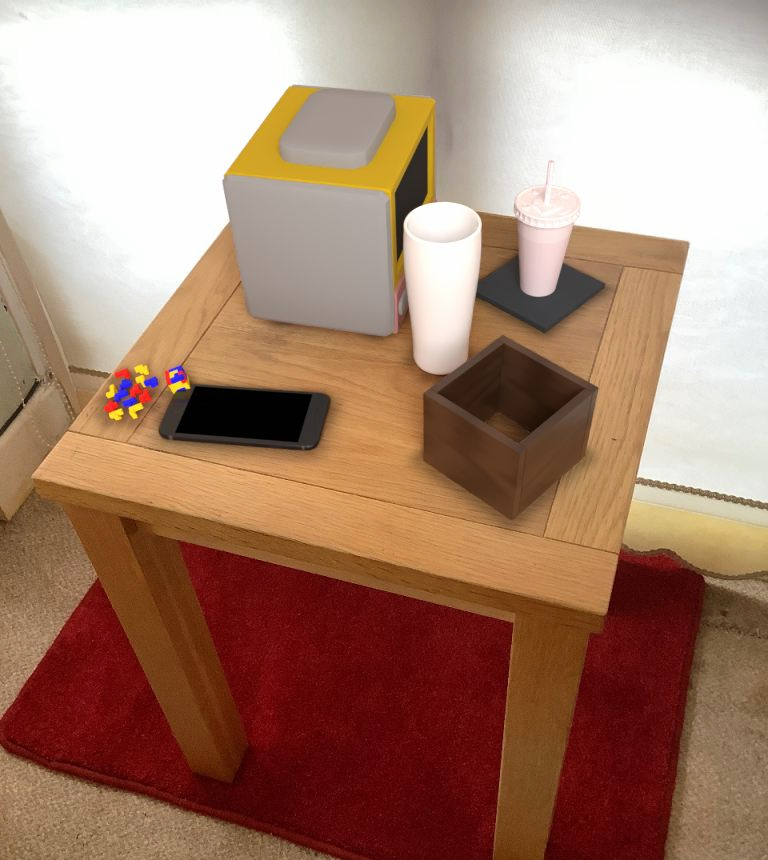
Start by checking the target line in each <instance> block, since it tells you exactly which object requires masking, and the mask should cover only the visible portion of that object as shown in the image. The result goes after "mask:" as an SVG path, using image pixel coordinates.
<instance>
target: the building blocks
mask: <svg viewBox="0 0 768 860" xmlns="http://www.w3.org/2000/svg"><path fill="white" fill-rule="evenodd" d="M149 368H150V367H148V365H144V364H139V365H137V366H135V367H133V369H134V371H135V373H136V374H138V373H140V375H138V376H136V377H135V382H136V383H135V384H133V383H132V381H131V379H129V378H131V377H132V374H131V372H130V371H129V370H128V368H126V367H125V368H122V369H121V370H118V371H115V372H114V377H115V378H116V379H119V378H121V377H124V378H122V379H121V384H119V389H117V387H116V385H115V384H114V383H112V384H110V385H108V386H109V391H107V392H105V397H106V398H107V399H111V398H113V397H114V401H113V400H112V399H111V400H109V401H107V404H106V405H104V406H103V410H104V412H106V413H108V416H109V418H110V419H112V420H115V421H120V420H122V417H123V415H124V414H125V412H124V410H123V408H119V403H120V402H121V401H122V400H121V399H123V398H126V397H129V395H130V398H128V399H125V400H123V401H122V402H121V403H122V407H124V408H128V413H129V415H130V416H131V418H132V419H133V420H136V419H138V418H139V417H138V413H137V412H138V411H140V410H143V409H144V404H145V403H146V402H147V403H149V402H152V400H153V399H152V397H151V395H150V391H149V390H148V388H147V387H149V386H150V388H151V389H154V388H156V387H157V386H159V379H158V377H157V376H153V377H150V378H148V379H146V376H147V375H149V374H150V369H149ZM164 376H165V383H166V385H167V386H168V387H169V389H170V390H171V393H172V395H174V393H175V392H176V391H179V390H185V389H190V384H191V383H190V377H189V375H188V373H186V371H185V369H184V368H183V366H182V364H180V365H177V366H175V367H173V368H170V369H168V370H164ZM127 379H128V380H127ZM139 384H141V385H139ZM132 386H133V387H132ZM141 386H142V387H143V388H145V389H143V388H141ZM131 387H132V388H131ZM129 388H130V389H129ZM128 389H129V391H128ZM137 395H138V396H139V398H138V399H139V402H138V400H137V398H136V397H137Z"/></svg>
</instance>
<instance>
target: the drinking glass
mask: <svg viewBox="0 0 768 860" xmlns="http://www.w3.org/2000/svg"><path fill="white" fill-rule="evenodd" d="M482 225H483V223H482V219H481V217H480V215H479V214H478V212H476V211H475V210H474V209H472V208H471V207H469V206H467V205H464V204H461V203H457V202H450V201H437V202H435V203H429V204H425V205H422V206H420V207H418V208H416V209H414V210H413V211H411V212H410V213H409V214H408V215H407V216H406V218H405V220H404V230H403V260H404V272H405V281H406V289H407V297H408V305H409V307H408V314H409V320H410V330H411V338H412V358H413V361H414V363H415V365H416V366H417V367H418V368H419V369H420V370H422V371H423V372H425V373H428V374H431V375H436V376H444V375H446V376H447V375H449V374H450V373H451V372H453V371H454V370H455V369H457V368H458V367H459V366H461V365H462V364H464V363H465V362H466V361H468V360H469V359H468V358H469V348H470V338H471V332H472V331H471V330H472V323H473V317H474V310H475V304H476V297H477V296H476V292H477V285H478V282H479V279H480V272H481V271H480V270H481V262H482V247H483V246H482V245H483V243H482V242H483V241H482V239H483V227H482Z"/></svg>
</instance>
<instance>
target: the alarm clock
mask: <svg viewBox="0 0 768 860" xmlns="http://www.w3.org/2000/svg"><path fill="white" fill-rule="evenodd" d="M221 181H222V189H223V194H224V198H225V204H226V209H227V214H228V220H229V224H230V230H231V235H232V241H233V245H234V250H235V254H236V255H235V256H236V260H237V265H238V272H239V276H240V277H239V278H240V282H241V287H242V291H243V296H244V301H245V306H246V312H247V314H249V315H250V316H251V317H252V318H253V319H256V320H263V321H271V322H277V323H284V324H285V323H286V324H293V325H299V326H305V327H306V326H307V327H312V328H313V327H314V328H320V329H327V330H335V331H341V332H349V333H355V334H356V333H357V334H362V335H370V336H375V337H376V336H377V337H383V338H386V337H389V336H390V335H392V334H395V335H396V334H398V333H399V332H400V329H401V327H402V324H403V322H404V320H405V317H406V315H407V311H408V310H409V305H408V297H407V289H406V281H405V272H404V260H403V230H404V220H405V218H406V216H407V215H408V214H409V213H410V212H411V211H413V210H414V209H416V208H418V207H420V206H422V205H425V204H429V203H435V202H438V199H437V102H436V100H435V98H432V97H431V95H426V94H414V93H413V94H412V93H403V92H389V91H377V90H366V89H365V90H364V89H355V88H354V89H353V88H340V87H329V86H319V85H307V84H305V85H304V84H292V85H290V86H288V87H287V88H286V90H284V92H283V94H282V95H281V97H279V99H278V101H277V102H276V103H275V104H274V106H273V107H272V108H271V110H270V112H268V114H267V116H266V117H265V118H264V120H263V121H262V122H261V124H260V125H259V126H258V128H257V129H256V130H255V132H254V133H253V135H252V136H251V138H250V139H249V140H248V142H247V143H246V144H245V145H244V147H243V148H242V150H241V151H240V152H239V154H238V155H237V156H236V158H235V159H234V161H233V162H232V163H231V164H230V166H229V167H228V168H227V170H226V172H225V173H224V174H223V179H222V180H221Z"/></svg>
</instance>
